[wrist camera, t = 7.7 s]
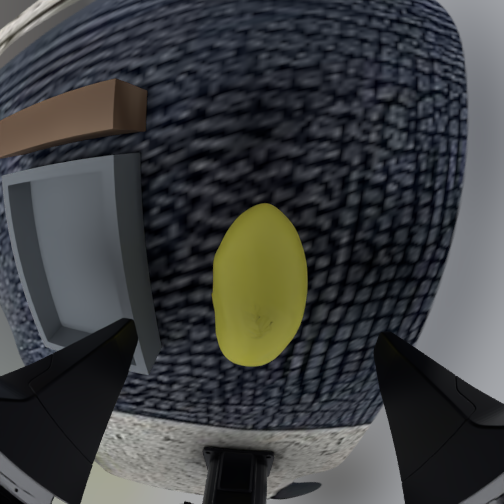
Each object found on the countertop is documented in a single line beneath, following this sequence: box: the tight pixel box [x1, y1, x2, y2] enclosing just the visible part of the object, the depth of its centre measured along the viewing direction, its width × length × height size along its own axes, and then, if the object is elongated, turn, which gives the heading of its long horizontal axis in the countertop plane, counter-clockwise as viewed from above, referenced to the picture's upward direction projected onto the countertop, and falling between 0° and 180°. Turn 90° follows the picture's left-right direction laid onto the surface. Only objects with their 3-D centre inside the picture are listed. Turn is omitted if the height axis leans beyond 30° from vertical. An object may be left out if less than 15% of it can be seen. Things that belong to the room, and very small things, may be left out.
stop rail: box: [0, 78, 147, 159], centre depth 9 cm, size 2×9×3 cm, turn 88°
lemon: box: [211, 203, 308, 366], centre depth 12 cm, size 4×8×4 cm, turn 171°
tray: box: [2, 153, 162, 375], centre depth 12 cm, size 11×8×2 cm
